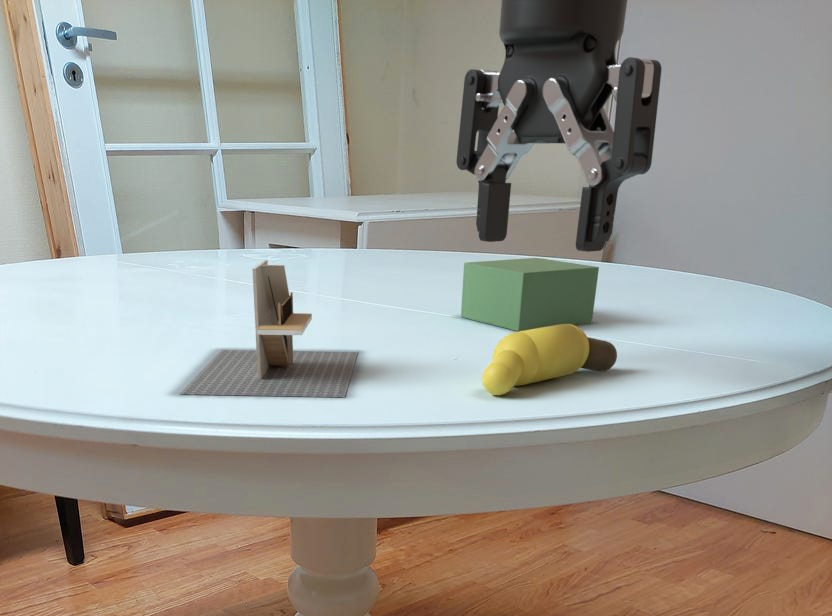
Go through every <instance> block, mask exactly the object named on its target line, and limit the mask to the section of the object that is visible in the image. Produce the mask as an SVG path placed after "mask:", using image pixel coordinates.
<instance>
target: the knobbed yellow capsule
mask: <svg viewBox="0 0 832 616" xmlns="http://www.w3.org/2000/svg"><path fill="white" fill-rule="evenodd" d="M617 359H618V351H617V348H616V346H615V345H614V344H613V343H611V342H609V341H607V340H604V339H597V338H594V337H589V336H587V334H586V333H585V331H584V330H582V329H581V328H580V327H578V326H577V325H571V324H559V325H554V326H548V327H542V328H536V329H531V330H525V331H514V332H511V333H508V334H506V335H505V336H504V337H502V338H501V339H500V340H499V341H498V343H497V344H496V346H495V347H494V349H493V353H492V360H491V362H490V363H489V364H488V365H487V366H486V367H485V369H484V370H483V373H482V377H481V381H482V386H483V388H484V389H485V391H486V392H487V393H489V394H490V395H492V396H502V395H506V394H507V393H509V392H510V391H511V390H512V389H513V387H515V386H516V387H517V386H525V385H531V384H533V383H538V382H542V381H548V380H551V379H556V378H560V377H565V376H569V375H571V374H574V373H576V372H578V371H579V370H580V369H583V370H588V371H594V372H600V373H604V372H606V371H608V370H610V369H612V368H613V367H614V365H615V364H616V362H617Z"/></svg>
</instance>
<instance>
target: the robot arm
mask: <svg viewBox="0 0 832 616" xmlns="http://www.w3.org/2000/svg"><path fill="white" fill-rule="evenodd" d="M500 4H501V5H500V6H501V7H500V17H499V18H500V19H499V30H498V31H499V39H500V41H501V42H502V43H503V46H504V49H505V56H504V61H503V64H502V67H501V69H500V72H499V71H496V70H490V69H481V68H480V69H469V70H468V71H466V73H465V76H464V80H463V91H462V102H461V110H460V119H459V120H460V122H459V131H458V141H457V150H456V165H457V169H459V170H460V171H467V172H469V173H470V174H472V175H474V177H475V179H476V180H477V182H478V193H477V205H476V206H477V207H476V208H477V209H476V221H475V226H476V231H477V232H478V239H479V240H480V241H481V242H488V243H494V242H495V243H496V242H503V241H505V240H506V238H507V235H508V223H509V212H510V201H511V192H512V191H511V190H512V182H506V181H507V180H508V179H509V177H510V176H511V175H512V173H513V171H514V169H515V168H516V166H517V165H518V163H519V161H520V159H521V158H522V157H523V156H524V155H526V154H527V153H528V152H530V151H531V150H532V148H533V146H534V145H535V144H565V146H566V148H567V150H568V152H569V153H570V154H571V155H572V156H574V157H575V158H576V160H577V162H578V165H579V167H580V170H581V172H582V174H583V177H584V180H585V182H586V183H587V185H588V186H582V188H581V189H582V190H581V197H580V203H579V204H580V205H579V213H578V220H577V221H578V222H577V229H576V236H575V237H576V238H575V248H576V250H577V251H578V252H586V253H590V252H600V251H602V250H603V249H604V248H605V246H606V242H609V240H610V239H611V237H612V234H613V230H614V229H613V228H614V221H615V213H616V208H617V207H616V206H617V201H618V200H617V199H618V193H619V189H620V187H621V185H622V183H623V182H624V181H626V180H628V179H629V180H630V179H631V178H634V177H635V176H638V175H645V174H647V172H649V171H650V169H651V167H652V164H653V163H652V161H653V154H654V153H653V152H654V143H655V133H656V125H657V115H658V105H659V97H660V89H661V78H662V63H660V61H659V60H658V59H657V60H656V59H650V58H640V57H631V56H630V57H629V56H628V57H626V58H625V59H623V60H622V63H617V59H616V47H617V43H618V42H619V41H620V40H621V38H622V37H623V35H624V31H625V21H626V13H627V6H628V0H501V3H500ZM611 96H612V97H613V100H614V101H615V102H616V104H615V105H616V106H615V115H614V116H615V117H614V129H613V127H612V124H611V121H610V120H609V117H608V114H607V113H606V110H605V108H604V106H606V104H607V102H608V100H609V99H610V97H611ZM500 104H503V107H502V109H501V111H500V113H499V109H500ZM477 133H478V136H477ZM476 138H477V139H476ZM476 141H477V144H476ZM476 145H477V146H476ZM475 149H476V150H475Z"/></svg>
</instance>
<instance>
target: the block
mask: <svg viewBox="0 0 832 616" xmlns="http://www.w3.org/2000/svg"><path fill="white" fill-rule="evenodd" d="M599 271H600V267H599V266H594V265H587V264H580V263H576V262H575V263H574V262H568V261H561V260H553V259H547V258H541V257H528V258H511V259H497V260H482V261H481V260H480V261H468V262H464V263H463V275H462V290H461V292H462V293H461V308H460V309H461V311H460V317H461V318H464V319H468V320H471V321H476V322H480V323H483V324H488V325H492V326H496V327H500V328H503V329H508V330H511V331H514V332H519V331H525V330H531V329H536V328H542V327H548V326H554V325H559V324H571V325H575V326H577V325H587V324H588V325H589V324H591V323H593V319H594V318H593V317H594V309H595V302H596V294H597V287H598V279H599V278H598V277H599Z"/></svg>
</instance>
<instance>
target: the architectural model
mask: <svg viewBox="0 0 832 616" xmlns="http://www.w3.org/2000/svg"><path fill="white" fill-rule="evenodd" d="M286 273H287V272H286V268H285V265H284V264H269V261H268V259H264V260H262V261H261V262H259V263H258V264H256V266H254V267H253V268H252V287H253V307H254V308H253V309H254V324H255V327H254V329H255V347H256V348H255V349H256V350H255V349H253V350H252V349H251V350H250V349H221V350H220V351H219V352H218V353H217V354H216V355H215V356H214V358H212V359H211V361H210V362H209V363H208V364H206V366H205V367H204V368H203V369H202V370H201V371H200V372H199V373H198V374H197V375H196V376H195V377H194V378H193V379H192V380H191V381H190V382H189V384H188V385H186V387H185V388H183V389H182V391H181V392H180V393H179V395H206V396H207V395H208V396H209V395H211V396H256V397H257V396H266V397H313V398H314V397H315V398H317V397H318V398H319V397H321V398H346V394H347V391H348V387H349V385H350V380H351V377H352V373H353V370H354V366H355V363H356V359H357V356H358V351H325V350H323V351H321V350H320V351H319V350H318V351H317V350H294V346H293V345H294V339H293V337H294V336H303V335H304V332H305V331H306V329H307V328H308V326H309V325H310V323H311V321H312V319H313V313H302V312H301V313H300V312H299V313H296V312H295V313H294V294H293V292H290V291H289V284H288V280H287V279H288V278H287V274H286Z"/></svg>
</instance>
